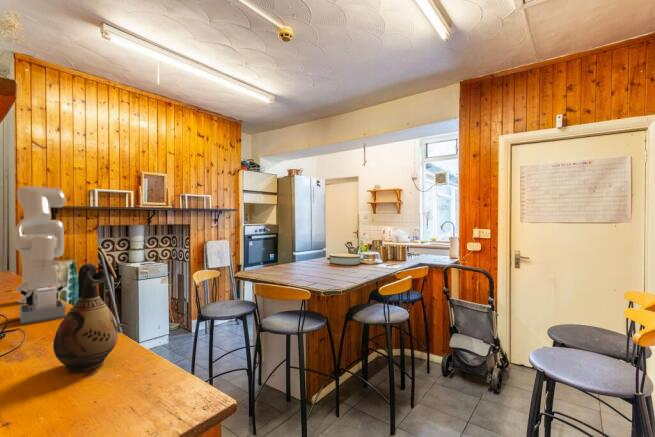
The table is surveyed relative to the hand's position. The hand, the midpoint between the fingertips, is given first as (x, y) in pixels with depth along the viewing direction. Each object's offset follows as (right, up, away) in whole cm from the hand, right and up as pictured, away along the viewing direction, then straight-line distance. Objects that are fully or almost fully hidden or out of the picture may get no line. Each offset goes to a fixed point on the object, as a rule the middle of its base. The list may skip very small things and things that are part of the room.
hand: (42, 303), depth 140 cm
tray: (0, -6, 0) cm, 6 cm away
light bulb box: (0, -4, 0) cm, 4 cm away
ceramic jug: (+53, -7, -45) cm, 70 cm away
